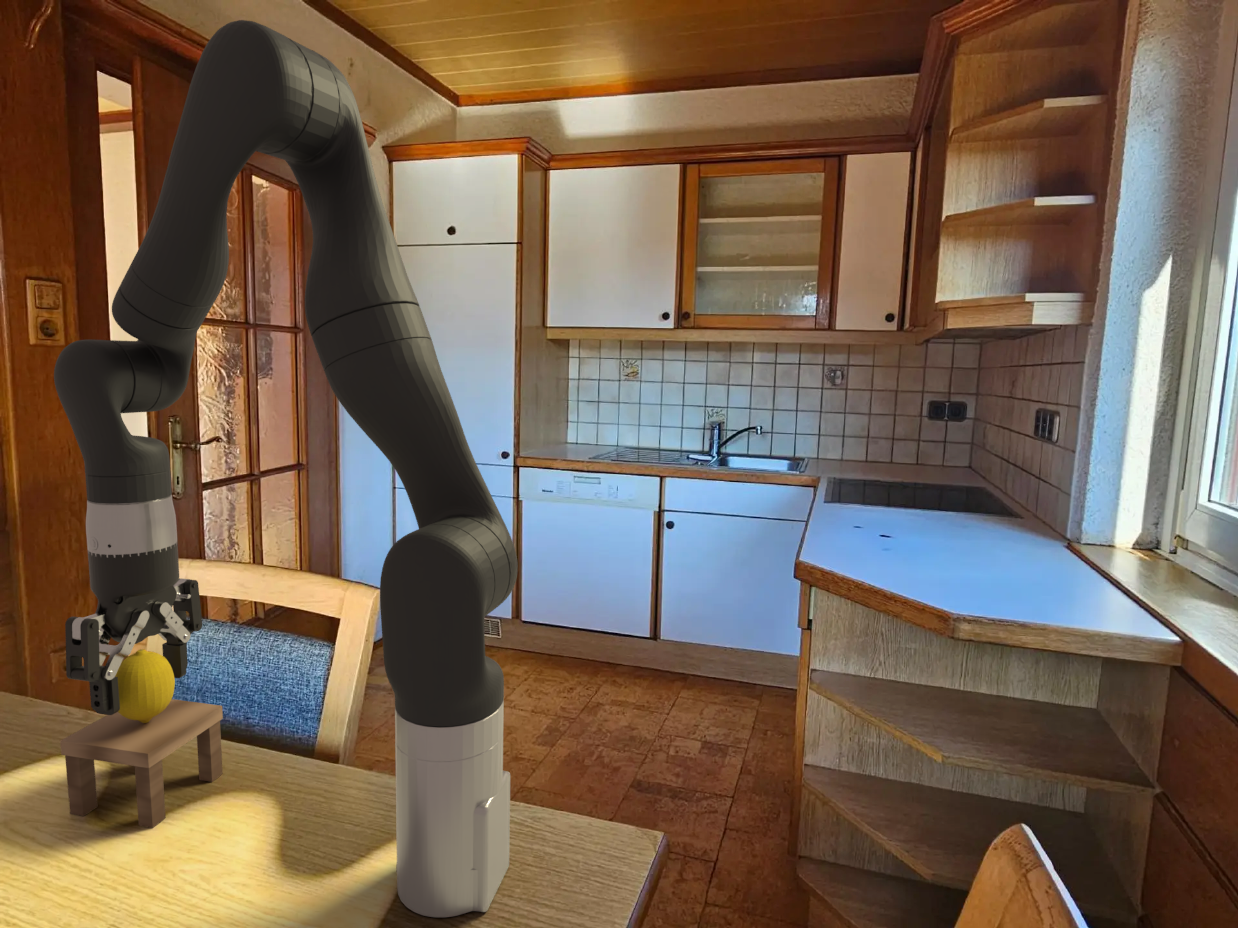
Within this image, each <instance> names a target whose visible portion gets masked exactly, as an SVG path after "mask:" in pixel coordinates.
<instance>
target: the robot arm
mask: <svg viewBox="0 0 1238 928" xmlns="http://www.w3.org/2000/svg"><path fill="white" fill-rule="evenodd" d="M358 106H359V105H358V103H357V100H356V97H355V94H354V92H353V90H352V88H351V86H350V84H349V81H348V80H347V78H346V75H344V74H343V72H342V71H340V69H339V68H338V67H337V66H336V65H335V64H334V62H332V61H331V60H329V58H326V57H325V56H323V54H322V55H321V54H320V53H319V52H316V51H315V50H312V49H310V48H308V46H304V45H303V44H300V43H299V42H297V41H295V40H293V39H291V38H289V37H288V36H286V35H285V34H282V33H280V32H278V31H277V30H275V29H272V28H270V27H268V26H266V25H264V24H261V23H258V22H257V21H256V22H255V21H253V20H247V19H246V20H245V19H241V20H240V19H239V20H235V21H230V22H228V23H226V24H224V25H223V26H221V27H220V28H219V29H217V31H216V32H215V33H214V34H213V35H212V36H211V38H210V39H209V40H208V41H207V43H206V44H205V47H204V48H203V50H202V52H201V55H200V57H199V60H198V62H197V64H196V67H195V69H194V73H193V75H192V78H191V81H190V85H189V88H188V92H187V96H186V98H185V102H184V106H183V110H182V114H181V117H180V119H179V120H180V121H179V123H178V127H177V131H176V135H175V137H174V140H173V144H172V148H171V151H170V156H169V158H168V159H169V160H168V163H167V164H168V165H167V168H166V171H165V176H164V179H163V183H162V187H161V191H160V193H159V197H158V200H157V201H158V202H157V203H156V207H155V209H154V213H153V216H152V218H151V220H150V223H149V225H148V226H149V227H148V229H147V231H146V233H145V235H144V237H143V240H142V242H141V244H140V246H139V248H138V250H137V252H136V253H135V256H134V258H133V259H132V260H131V263H130V265H129V266H128V269H127V271H126V273H125V275H124V277H123V278H122V281H121V283H120V284H119V286H118V288H117V290H116V293H115V295H114V297H113V300H112V305H111V314H112V317H113V320H114V321H115V323H116V324H117V325H118V326H119V328H120V329H122V330H123V331H124V332H125V333H126V334H128V335H129V336H131V337H133V338H135V339H136V340H116V339H113V340H112V339H111V340H105V339H79V340H76V341H73V342H71V343H69V344H68V345H67V346H65V347H64V348H63V349H62V350H61V352H60V353H59V355H58V356H57V359H56V362H55V365H54V369H53V370H54V371H53V380H54V386H55V390H56V393H57V396H58V399H59V401H60V404H61V406H62V409H63V410H64V412H65V414H66V417H67V419H68V422H69V425H70V427H71V430H72V433H73V435H74V437H75V440H76V442H77V446H78V448H79V449H80V454H81V455H82V458H83V463H84V474H85V487H86V489H85V490H86V514H85V534H86V535H85V536H86V546H87V547H86V548H87V560H88V561H87V562H88V571H89V572H88V574H89V588H90V590H91V592H92V593H93V594H94V595H95V597H96V599H97V607H96V611H95V613H93V614H90V615H88V616H87V615H86V616H84V617H81V616H79V617H78V616H70V617H68V618H67V620H66V621H65V625H64V626H65V628H64V629H65V665H66V666H65V667H66V669H65V670H66V671H65V675H66V677H67V679H70V680H75V681H76V680H77V681H82V682H88V684H89V693H90V706H91V708H92V711H94V712H96V713H97V714H99V715H105V716H106V715H113V714H114V713H116V712H118V711H119V710H120V703H119V689H118V677H115V675H116V673H117V671H118V669H119V667H120V665H121V662H122V661H123V660H124V659H125V658H127V657H128V656H130V655H131V652H132V650H133V649H134V647H135V645H137V644H140V643H141V642H143V641H145V639H147V638H148V637H155V636H156V635H159V636H160V638H162V639H163V640H164V641H165V642H164V643H162V648H161V649H162V656H163V657H165V658H166V659H167V661H168V662H169V664H170V665H171V668H172V670H173V673H174V679H180V678H182V677H184V676H186V675H187V668H188V661H189V659H188V646H187V643H188V642H189V641H190V639H191V635H192V634H193V633H194V632H199V631H201V629H202V628H203V617H202V609H201V608H202V607H201V600H200V599H201V598H200V589H199V588H200V587H199V582H198V580H197V579H189V578H180V566H179V548H178V546H179V545H178V531H177V529H178V528H177V527H178V525H177V515H176V510H175V506H174V501H173V495H172V493H173V492H172V477H171V474H172V473H171V459H170V453H169V448H168V446H167V445H166V444H165V442H164V441H163V440H160V439H158V438H154V437H150V436H149V437H148V436H142V435H141V436H140V435H134V434H133V435H132V434H131V432H130V431H129V429H128V428H127V425H126V424H125V421H124V420H123V417H122V414H134V413H150V412H151V413H152V412H159V411H162V410H165V409H168V408H169V407H171V406H172V405H173V404H175V402H177V401H178V400H179V399H181V397H182V396H183V394H184V392H185V390H186V389H187V385H188V382H189V375H190V370H191V364H192V360H193V359H192V358H193V355H194V349H195V344H196V343H195V342H196V338H197V337H196V336H197V332H198V331H199V329H200V328H201V326H202V325H203V323H204V321H205V319H206V318H207V316H208V314H209V312H210V310H211V308H212V307H213V305H214V304H215V302H216V300H217V299H218V297H219V294H220V293H221V291H222V289H223V287H224V285H225V281H226V279H227V276H228V271H229V262H230V248H229V247H230V246H229V234H228V233H229V232H228V221H227V220H228V218H227V217H228V216H227V213H228V203H229V199H230V195H231V192H232V188H233V186H234V183H235V181H236V179H237V177H238V176H239V174H241V173H240V172H241V171H242V169H243V168H244V166H245V165H246V164H247V162H248V161H249V160H250V158H252V156H253V155H254V154H255V152H258V153H261V154H264V155H266V156H267V155H268V156H269V157H270V156H271V157H274V158H276V159H280V160H283V161H285V162H286V164H288V166H289V168H290V170H291V172H292V174H293V175H294V177H295V180H296V181H297V184H298V187H299V189H300V192H301V194H302V195H301V196H302V197H303V199H304V203H305V206H306V208H307V211H308V214H309V215H308V216H309V219H310V221H311V229H312V245H311V246H312V247H311V254H310V255H311V256H310V259H309V266H308V270H307V276H306V283H305V291H304V313H305V318H306V323H307V326H308V329H309V334H310V336H311V339H312V341H313V344H314V347H315V350H316V353H317V356H318V358H319V360H320V364H321V366H322V368H323V371H324V374H325V377H326V378H327V382H328V384H329V386H330V388H331V390H332V392H333V394H334V396H335V397H336V398H337V401H339V403H340V404H341V405H342V407H343V408H344V410H345V411H346V412H347V414H348V415H349V416H350V417H351V419H352V420H353V421H354V422H355V423H356V425H358V427H359V428H360V429H361V430H362V432H364V433H365V435H366V436H367V437H368V438H369V439H370V441H372V442H373V444H374V445H375V446H376V447H377V448H378V449H379V451H381V453H382V454H383V455H384V457H386V459H387V460H388V461H389V463H390V464H391V466H392V467H393V469H394V470H395V471H396V473H397V476H398V477H399V479H400V481H401V483H402V485H403V487H404V490H405V492H406V495H407V497H408V500H409V502H410V504H411V508H412V511H413V513H414V517H415V520H416V523H417V527H418V529H416V530H414V531H411V532H408V533H407V534H405V535H404V536H402V537H401V538H399V539H398V540H397V541H396V542H395V543H393V545H392V546H391V547H390V549H389V550H388V551H387V554H386V556H385V558H384V561H383V565H382V570H381V573H380V580H379V605H380V606H379V607H380V620H381V621H380V623H381V636H382V637H381V639H382V649H383V650H382V651H383V652H382V653H383V663H384V671H385V675H386V678H387V680H388V682H389V684H390V686H391V689H392V691H393V694H394V729H395V730H394V732H395V733H394V735H395V736H394V740H395V741H394V742H395V743H394V747H395V748H394V749H395V751H394V752H395V758H394V759H395V810H396V811H395V817H396V818H395V819H396V820H395V822H396V823H395V825H396V827H395V828H396V829H395V830H396V831H395V834H396V838H395V839H396V865H395V867H396V868H395V869H396V882H397V883H396V887H397V895H398V898H399V899H400V901H401V903H402V904H404V906H405V907H406V908H407V909H408V910H411V911H412V912H414V913H415V914H418V915H421V916H425V917H431V918H450V917H457V916H460V915H463V914H466V913H470V912H481V913H485V912H488V910H489V908H490V905H491V904H492V901H493V900H494V898H495V896H496V894H497V892H498V890H499V888H500V885H501V883H502V882H503V879H504V877H505V875H506V873H507V871H508V870H509V867H510V841H511V840H510V837H511V836H510V831H511V830H510V827H511V826H510V825H511V773H510V772H509V771H506V770H503V769H504V703H505V701H504V697H505V695H504V694H505V680H504V679H505V677H504V672H503V669H502V667H501V665H500V664H499V663H498V662H497V661H495V659H493V658H491V657H489V656H486V640H485V638H486V637H485V617H486V616H487V615H490V614H491V612H493V611H494V610H496V609H497V608H498V607H500V605H502V604H503V603H504V602H505V601H506V600H507V599H508V598H509V596H510V594H511V593H512V592H513V589H514V588H515V585H516V582H517V578H518V564H519V563H518V558H517V557H518V556H517V552H516V548H515V545H514V542H513V539H512V536H511V534H510V532H509V530H508V527H507V526H506V523H505V521H504V519H503V517H502V515H501V513H500V511H499V508H498V507H497V505H496V502H495V500H494V498H493V496H492V494H491V492H490V490H489V487H488V486H487V483H486V482H485V480H484V477H483V475H482V473H481V471H480V468H479V467H478V465H477V462H476V461H475V458H474V455H473V453H472V451H471V448H470V446H469V443H468V441H467V438H466V435H465V431H464V429H463V427H462V423H461V420H460V417H459V415H458V411H457V409H456V405H455V404H454V401H453V397H452V396H451V393H450V391H449V386H448V385H447V382H446V379H445V377H444V374H443V372H442V368H441V366H440V362H439V359H438V356H437V353H436V350H435V346H434V342H433V340H432V337H431V334H430V331H429V328H428V326H427V324H426V323H427V322H426V320H425V317H424V315H423V311H422V309H421V306H420V303H419V301H418V298H417V296H416V294H415V292H414V289H413V286H412V284H411V281H410V279H409V276H408V273H407V271H406V268H405V265H404V262H403V258H402V255H401V253H400V250H399V247H398V243H397V241H396V237H395V235H394V231H393V228H392V225H391V223H390V221H389V218H388V216H387V213H386V210H385V206H384V203H383V201H382V197H381V193H380V189H379V186H378V182H377V177H376V174H375V171H374V166H373V161H372V158H371V153H370V150H369V146H368V140H367V136H366V133H365V129H364V124H363V121H362V117H361V113H360V110H359V107H358ZM187 612H188V615H189V619H187ZM111 639H112V640H113V641H114V642H117V643H118V644H117V645H113V644H110V640H111ZM108 656H109V657H108ZM107 657H108V659H107V662H106V663H105V665H104V662H105V660H106V658H107Z"/></svg>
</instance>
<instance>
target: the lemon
mask: <svg viewBox="0 0 1238 928" xmlns="http://www.w3.org/2000/svg"><path fill="white" fill-rule="evenodd" d="M115 677H118V689H119V703H120V710H119V711H118V712H119V713H120V714H121V715H122V716H123V717H125V718H128V719H131V720H138V721H140V722H142V723H147V722H149V721H150V720H151V719H152V718H153V717H154V716H156V715H158V714H160V713H161V712H162V711H163V710H164V709H165V708H166V707H167V706H168V704H169V703H170V701H171V699H173V696H174V693H175V685H176V683H175V681H176V680H175V679H176V678H174V673H173V670H172V668H171V665H170V664H169V662H168V661H167V659H166V658H165V657H163V654H160V653H158V652H155V651H149V650H146V649H143V648H142V649H141V648H140V649H138V650H136V651H135V652H134V653H132V654H129V655H128V656H127V657H125V658H124V659H123V660H122V662H121V665H120V667H119V669H118V671H117V673H116V675H115Z"/></svg>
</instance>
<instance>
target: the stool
mask: <svg viewBox="0 0 1238 928" xmlns="http://www.w3.org/2000/svg"><path fill="white" fill-rule="evenodd" d="M223 715H224V713H223V705H218V704H211V703H205V702H196V701H190V700H189V701H188V700H181V699H176V698H175V699H174V698H172V699H171V701H170V703H169V704H168V706H167V707H166V708H165V709H164V710H163V711H162V712H161V713H160V714H158V715H156V716H154V717H153V718H152V719H151V720H150V721H149V722H147V723H142V722H140V721H138V720H131V719H128V718H125V717H123V716H122V715H121V714H120V713H119V712H116V713H114V714H113V715H105V716H103V717H101V718H99V719H97V720H96V721H93V722H92V723H90V724H88V725H86V726H84V727H83V728H81V729H79V730H77V731H75V732H73V733H71V734H70V735H68V736H66V737H64V738H62V739H61V740H59V742H60V743H59V744H60V752H61V753H60V754H61V756H65V757H64V758H65V768H66V772H65V773H66V779H67V780H66V782H67V784H66V785H67V791H68V792H67V793H68V806H69V814H70V815H73V816H74V815H75V816H81V817H84V816H86V815H88V814H89V813H90V812H92V811H93V810H95V809H96V808H98V807H99V806H98V805H99V804H98V794H97V793H98V791H97V781H96V769H95V767H96V766H95V761H101V762H105V763H106V762H107V763H112V764H113V763H114V764H118V765H119V764H120V765H126V766H132V767H134V776H135V789H136V791H135V793H136V803H137V805H136V806H137V819H138V826H139V827H145V828H150V829H153V828H155V827H157V826H158V825H159V824H160V823H161V822H163V821H164V820H165V819H166V802H165V788H164V787H165V785H164V772H163V771H164V770H163V759H165V758H166V757H168V756H170V755H171V754H172V753H174V752H175V751H177V750H178V749H179V748H181V747H183V746H184V745H186V744H187V743H189V742H190V741H192V740H193V739H195V738H196V744H197V746H196V747H197V760H198V761H197V762H198V766H197V767H198V779H199V781H202V782H203V781H204V782H210V783H213V782H214V781H216V780H217V779H218V778H219V777H220V776H222V775H223V774H224V772H223V756H222V735H221V734H222V733H221V721H222V720H223V719H224V718H223V717H224V716H223Z"/></svg>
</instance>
